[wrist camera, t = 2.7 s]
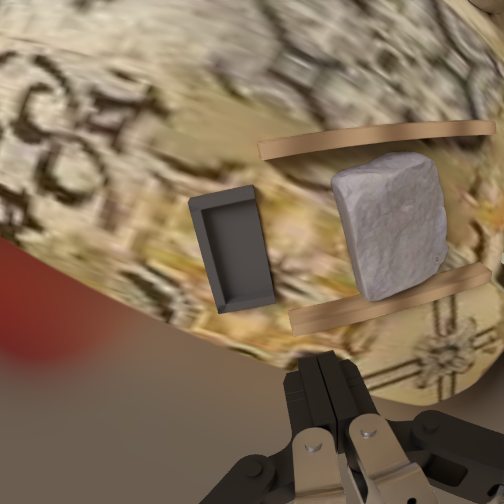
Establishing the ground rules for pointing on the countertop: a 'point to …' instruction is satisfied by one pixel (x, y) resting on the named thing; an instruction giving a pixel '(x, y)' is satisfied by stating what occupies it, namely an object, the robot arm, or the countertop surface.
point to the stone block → (392, 221)
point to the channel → (419, 294)
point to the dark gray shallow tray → (233, 248)
